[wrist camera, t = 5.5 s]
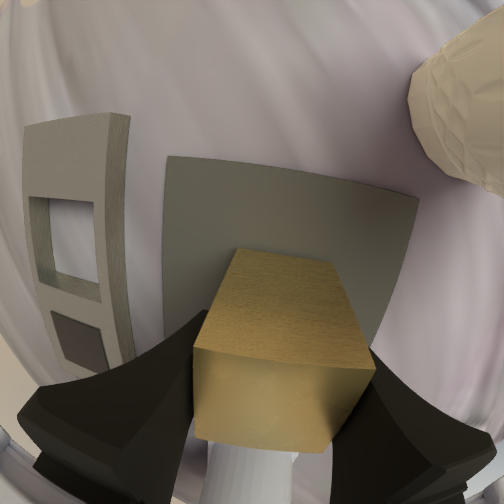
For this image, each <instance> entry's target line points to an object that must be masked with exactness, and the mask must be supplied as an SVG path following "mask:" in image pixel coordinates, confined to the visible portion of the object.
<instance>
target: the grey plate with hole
mask: <svg viewBox="0 0 504 504" xmlns="http://www.w3.org/2000/svg"><path fill="white" fill-rule="evenodd" d="M129 123H130V116H128V115H123V114H117V113H111V112H110V113H100V114H91V115H83V116H76V117H69V118H63V119H58V120H52V121H47V122H42V123H38V124H33V125H29V126H25V129H24V140H23V157H22V195H23V212H24V224H25V233H26V241H27V248H28V254H29V260H30V266H31V271H32V276H33V281H34V285H35V290H36V294H37V298H38V302H39V306H40V309H41V313H42V316H43V320H44V323H45V326H46V329H47V332H48V335H49V338H50V341H51V344H52V347H53V349H54V352H55V355H56V357H57V360H58V362H59V365H60V367H61V369H63V370H65V371H67V372H69V373H71V374H73V375H75V376H77V377H79V378H81V379H83V378H87V377H90V376H94V375H97V374H100V373H103V372H105V371H108V370H110V369H113V368H115V367H118V366H120V365H122V364H125V363H127V362H129V361H131V360H133V359H135V358H136V354H135V349H134V342H133V336H132V329H131V321H130V313H129V305H128V295H127V284H126V270H125V251H124V184H125V166H126V152H127V141H128V132H129ZM48 198H58V199H69V200H80V201H90V202H94V233H95V248H96V260H97V270H98V279H99V284H96V283H92V282H89V281H85V280H82V279H79V278H75V277H72V276H69V275H65V274H62V273H59V272H56V271H55V265H54V259H53V251H52V243H51V234H50V223H49V207H48Z"/></svg>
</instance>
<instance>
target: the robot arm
mask: <svg viewBox="0 0 504 504" xmlns="http://www.w3.org/2000/svg"><path fill="white" fill-rule="evenodd" d="M208 312H209V310H206V309H203V310H201V311H200V312H199V313H198V314H197V315H195V316H194V317H193V318H192V319H191V320H190V321H188V322H187V323H186V324H185V325H184V326H182V327H181V328H180V329H179V330H177V331H176V332H175V333H173V334H172V335H171V336H170V337H168V338H167V339H165V340H164V341H162V342H161V343H159V344H158V345H156V346H155V347H153V348H152V349H150V350H149V351H147V352H145V353H144V354H142V355H140V356H138V357H137V358H135V359H133V360H131V361H129V362H127V363H125V364H122V365H120V366H118V367H115V368H113V369H110V370H108V371H105V372H103V373H100V374H97V375H94V376H90V377H87V378H83V379H80V380H76V381H71V382H66V383H61V384H55V385H48V386H40V387H39V388H38V389H37V390H36V392H35V393H34V394H33V396H32V397H31V398H30V399H29V400H28V401H27V403H26V404H25V405H24V406H23V408H22V409H21V410H20V412H19V413H18V414H17V420H18V422H19V424H20V426H21V427H22V428H23V430H24V431H25V432H26V433H27V434H28V436H29V437H30V438H31V439H32V440H33V442H34V443H35V444H36V445H37V446H38V447H39V448H40V449H41V450H42V452H41V453H40V455H39V457H38V458H35V457H34V456H32V455H31V454H30V453H28V452H27V451H26V450H25V449H23V448H22V447H21V446H20V445H18V444H17V443H16V442H15V441H14V440H12V439H11V437H10V436H9V434H8V433H7V432H6V431H5V430H4V429H3V428H2V426H1V425H0V504H170V502H171V497H172V493H173V488H174V484H175V480H176V476H177V472H178V468H179V464H180V460H181V456H182V452H183V448H184V445H185V441H186V438H187V434H188V430H189V427H190V424H191V422H192V419H193V416H194V396H193V346H194V344H195V341H196V339H197V337H198V335H199V332H200V330H201V328H202V326H203V323H204V321H205V319H206V317H207V314H208ZM367 346H368V345H367ZM368 348H369V346H368ZM369 351H370V353H371V356H372V359H373V362H374V364H375V367H376V371H375V373H374V375H373V376H372V378H371V380H370V382H369V383H368V385H367V387H366V389H365V390H364V392H363V394H362V395H361V397H360V399H359V400H358V402H357V404H356V405H355V407H354V408H353V410H352V412H351V413H350V415H349V416H348V418H347V419H346V421H345V422H344V424H343V425H342V427H341V428H340V430H339V431H338V433H337V434H336V435H335V437H334V438H333V440H332V445H333V466H332V485H331V495H330V504H504V475H503V476H502V477H500V478H499V479H497V480H496V481H494V482H493V483H492V484H490V485H489V486H487V487H486V488H485V489H484V490H483V491H481V492H479V493H477V494H476V495H473V496H472V497H470V498H468V499H466V500H465V499H464V495H463V492H464V491H466V490H467V488H468V487H467V483H466V481H467V480H469V479H470V478H472V477H473V476H474V475H475V474H477V473H478V472H479V471H480V470H482V469H483V468H484V467H485V466H486V465H487V464H488V463H490V462H491V461H492V460H493V458H494V457H495V456H496V453H497V450H496V447H495V445H494V443H493V440H492V438H491V436H490V434H489V433H487V432H484V431H481V430H479V429H476V428H473V427H471V426H468V425H466V424H464V423H462V422H460V421H458V420H456V419H454V418H452V417H450V416H448V415H447V414H445V413H443V412H442V411H440V410H439V409H437V408H435V407H434V406H432V405H431V404H429V403H428V402H427V401H425V400H424V399H422V398H421V397H420V396H419V395H417V394H416V393H415V392H414V391H413V390H411V389H410V388H409V387H408V386H407V385H405V384H404V383H403V382H402V381H401V380H400V379H399V378H398V377H397V376H396V375H395V374H394V373H393V372H392V371H391V370H390V369H389V368H388V367H387V366H386V365H385V364H384V363H383V362H382V361H381V360H380V359H379V357H378V356H377V355H376V354H375V353H374V352H373V351H372V350H371V349H370V348H369ZM299 453H300V452H283V451H272V450H262V449H254V448H246V447H240V446H233V445H228V444H222V443H217V442H212V441H208V461H207V466H208V468H207V472H206V476H205V480H204V484H203V488H202V492H201V496H200V500H199V504H291V491H292V464H293V462H294V461H295V459H296V458H297V456H298V455H299Z"/></svg>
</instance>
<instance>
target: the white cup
mask: <svg viewBox="0 0 504 504" xmlns="http://www.w3.org/2000/svg"><path fill="white" fill-rule="evenodd" d="M407 100H408V105H409V110H410V115H411V121H412V127H413V130H414V132H415V134H416V136H417V137H418V139H419V141H420V143H421V145H422V147H423V149H424V151H425V153H426V155H427V157H429V158H430V159H431V160H432V161H433V162H434V163H435V164H436V165H437V166H438V167H439V168H440V169H441V170H442V171H443V172H444V173H445V174H447V175H449V176H452V177H456V178H459V179H462V180H466V181H469V182H472V183H474V184H476V185H478V186H481V187H482V188H484V189H485V190H486V191H488V192H491V193H494V194H496V195H498V196H500V197H502V198H504V5H502V6H500V7H499V8H497V9H495V10H494V11H492V12H490V13H489V14H487V15H485V16H484V17H482V18H480V19H479V20H477V21H476V22H475V23H474V24H473V25H472V26H470V27H468V28H467V29H465V30H464V31H462V32H461V33H460V34H458V35H457V36H456V37H455V38H453V39H452V40H450V41H449V42H447V43H446V44H445V45H443V46H442V47H441V49H440V51H439V52H437V53H435V54H434V55H432V56H431V57H429V58H428V59H427V60H426V61H425V62H424V63H423V64H422V65H421V66H420V67H419V68H418V69H417V70H416V71H415V72H414V73H413V74H412V78H411V83H410V88H409V93H408V98H407Z"/></svg>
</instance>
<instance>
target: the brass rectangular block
mask: <svg viewBox="0 0 504 504" xmlns="http://www.w3.org/2000/svg"><path fill="white" fill-rule="evenodd" d="M375 371H376V367H375V364H374V362H373V359H372V356H371V353H370V351H369V348H368V346H367V343H366V340H365V338H364V335H363V333H362V330H361V328H360V325H359V323H358V320H357V318H356V316H355V313H354V311H353V308H352V306H351V304H350V301H349V299H348V297H347V294H346V292H345V290H344V287H343V285H342V283H341V281H340V278H339V276H338V274H337V272H336V269H335V267H334V265H333V263H331V262H325V261H319V260H312V259H306V258H300V257H294V256H288V255H281V254H275V253H269V252H262V251H256V250H250V249H244V248H237V251H236V253H235V255H234V257H233V259H232V261H231V264H230V266H229V268H228V270H227V272H226V275H225V277H224V279H223V281H222V283H221V286H220V288H219V290H218V292H217V294H216V297H215V299H214V301H213V303H212V305H211V308H210V310H209V312H208V314H207V317H206V319H205V321H204V323H203V326H202V328H201V330H200V332H199V335H198V337H197V339H196V341H195V344H194V346H193V396H194V427H195V438H198V439H203V440H207V441H212V442H217V443H222V444H228V445H233V446H240V447H246V448H254V449H262V450H272V451H283V452H301V453H323V452H324V450H325V449H326V448H327V446H328V445H329V444H330V442H331V441H332V440H333V438H334V437H335V435H336V434H337V433H338V431H339V430H340V428H341V427H342V425H343V424H344V422H345V421H346V419H347V418H348V416H349V415H350V413H351V412H352V410H353V408H354V407H355V405H356V404H357V402H358V400H359V399H360V397H361V395H362V394H363V392H364V390H365V389H366V387H367V385H368V383H369V382H370V380H371V378H372V376H373V375H374V373H375Z"/></svg>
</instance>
